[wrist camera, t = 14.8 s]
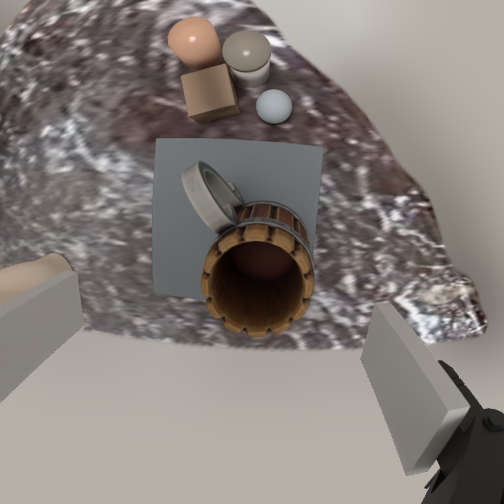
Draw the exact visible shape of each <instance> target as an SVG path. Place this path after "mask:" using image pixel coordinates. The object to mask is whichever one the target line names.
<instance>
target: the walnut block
mask: <svg viewBox="0 0 504 504" xmlns="http://www.w3.org/2000/svg"><path fill="white" fill-rule="evenodd" d="M181 79H182V84H183V90H184V95H185V100H186V105H187V110H188V115H189V117H190V118H192V119H193V120H195V121H196V122H198V123H200V124H202V123H205V122H209V121H213V120H217V119H221V118H225V117H229V116H233V115H238V114H241V113H240V109H239V105H238V100H237V96H236V91H235V87H234V83H233V78H232V76H231V74H230V71H229V69H228V67H227V65H226V64H221V65H218V66H214V67H210V68H206V69H203V70H199V71H196V72H192V73H189V74H186V75H183V76H181Z"/></svg>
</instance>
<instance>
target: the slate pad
mask: <svg viewBox="0 0 504 504" xmlns="http://www.w3.org/2000/svg"><path fill="white" fill-rule="evenodd" d="M322 159H323V147H318V146H309V145H300V144H290V143H279V142H267V141H253V140H235V139H207V138H157V139H156V148H155V163H154V181H153V208H152V273H153V293H156V294H164V295H171V296H178V297H186V298H194V299H202V300H207V297H205V296H203V295H202V290H201V286H200V285H201V276H202V272H203V263H204V260H205V257H206V254H207V252H208V250H209V248H210V246H211V244H212V243H213V242H214V240H215V239H216V237H217V236H218V234H216V233H214V232H213V231H212V230H211V229H210V228H209V227H208V226H207V225H206V224H205V223H204V221H203V220H202V219H201V217H200V216H199V215H198V213H197V212H196V210H195V208H194V207H193V205H192V203H191V202H190V200H189V198H188V196H187V194H186V192H185V189H184V186H183V183H182V173H183V171H185V170H186V169H188V168H189V167H191V166H192V165H194V164H195V163H197V162H198V161H204V162H205V163H207V164H209V165H210V166H211V167H212V168H214V169H215V170H216V171H217V172H218V174H219V175H220V176H221V177H222V178H223V179H224V180H225V182H226V183H227V184H228V183H230V182H232V183H233V184H234V185H235V187H236V188H237V190H238V191H239V193H240V194H241V196H242V198H243V200H244V202H245V204H246V203H249V202H252V201H259V200H268V201H276V202H278V203H281V204H283V205H285V206H287V207H289V208H290V209H291V210H293V211H294V212H295V213H297V215H298V216H299V217H300V219H301V220H302V221H303V222H304V224H305V227H306V229H307V232H308V234H309V240H310V252H311V255H312V256H313V248H314V240H315V232H316V223H317V214H318V204H319V194H320V183H321V172H322ZM214 196H215V195H214ZM215 197H216V196H215ZM216 199H217V200H218V202H219V203H220V205H221V206H222V207H223V206H224V205H223V204H222V203H221V202H220V201H219V199H218V198H217V197H216Z"/></svg>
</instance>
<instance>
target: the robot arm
mask: <svg viewBox="0 0 504 504" xmlns="http://www.w3.org/2000/svg"><path fill="white" fill-rule="evenodd" d="M83 326H84V319H83V313H82V306H81V299H80V291H79V283H78V274H77V272H73V271H67V270H65V271H63V272H61V273H59V274H57V275H55V276H54V277H52V278H50V279H48V280H46V281H44V282H42V283H41V284H39V285H37V286H35V287H33V288H32V289H30V290H28V291H26V292H24V293H23V294H21V295H19V296H17V297H16V298H14V299H12V300H11V301H9V302H7V303H5V304H4V305H2V306H0V402H2V401H3V400H4V399H5V398H6V397H7V396H8V395H9V394H10V393H11V392H12V391H13V390H14V389H15V388H16V387H17V386H18V385H19V384H20V383H21V382H22V381H23V380H24V379H26V378H27V377H28V376H29V375H30V374H31V373H32V372H33V371H34V370H35V369H36V368H37V367H38V366H39V365H40V364H42V363H43V362H44V361H45V360H46V359H47V358H48V357H49V356H50V355H51V354H53V353H54V352H55V351H56V350H57V349H58V348H59V347H60V346H61V345H62V344H64V343H65V342H66V341H67V340H68V339H69V338H70V337H71V336H73V335H74V334H75V333H76V332H77V331H78V330H79V329H81V328H82V327H83ZM361 361H362V363H363V365H364V368H365V370H366V373H367V375H368V378H369V380H370V382H371V385H372V387H373V389H374V392H375V395H376V397H377V400H378V402H379V405H380V407H381V410H382V412H383V415H384V417H385V420H386V422H387V425H388V428H389V430H390V433H391V436H392V438H393V441H394V443H395V446H396V449H397V452H398V455H399V457H400V460H401V463H402V466H403V469H404V471H405V474H406V476H409V475H414V474H419V473H423V472H427V471H428V470H429V469H430V467H431V466H432V465H433V463H434V462H435V460H436V459H437V461H438V464H439V466H440V469H439V470H438V471H437V473H436V474H435V475H434V476H433V478H432V479H431V480H430V481H429V482H428V484H427V485H426V486H425V487H424V488H426V489H427V488H428V487H429V486H430V487H429V489H428V491H427V493H426V495H425V498H424V499H423V501H422V503H421V504H504V414H503V413H502V412H500V411H498V410H495V409H490V408H488V409H483V408H482V406H481V405H480V404H479V402H478V401H477V400H476V398H475V397H474V396H473V394H472V393H471V392H470V390H469V389H468V388H467V386H464V383H463V381H462V380H461V379H460V378H459V376H458V375H457V373H456V372H455V371H454V369H453V368H452V367H450V366H449V365H448V364H446V363H445V362H443V361H441V360H439V361H437V360H436V359H435V357H434V356H433V355H432V353H431V352H430V351H429V350H428V348H427V347H426V346H425V345H424V343H423V342H422V341H421V339H420V338H419V337H418V336H417V334H416V333H415V332H414V331H413V330H412V328H411V327H410V326H409V325H408V323H407V322H406V321H405V320H404V319H403V317H402V316H401V315H400V314H399V313H398V311H397V310H396V309H395V308H394V307H393V305H392V304H384V303H375V305H374V309H373V314H372V318H371V322H370V326H369V330H368V334H367V337H366V341H365V345H364V348H363V352H362V356H361Z"/></svg>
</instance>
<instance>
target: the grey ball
mask: <svg viewBox="0 0 504 504" xmlns="http://www.w3.org/2000/svg"><path fill="white" fill-rule="evenodd" d="M256 110H257V113H258V115H259V116H260V118H261V119H263V120H264V121H266V122H268V123H280V122H283V121H284V120H286V119H287V118H288V117H289V115H290V113H291V111H292V103H291V100H290V98H289V97H288V95H287V94H285V93H284V92H282V91H280V90H275V89H272V90H267V91H265V92H263V93H262V94H261V95H260V96H259V97H258V99H257V102H256Z"/></svg>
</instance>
